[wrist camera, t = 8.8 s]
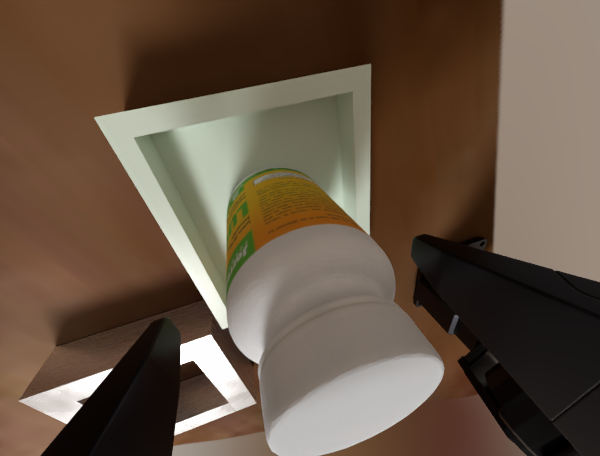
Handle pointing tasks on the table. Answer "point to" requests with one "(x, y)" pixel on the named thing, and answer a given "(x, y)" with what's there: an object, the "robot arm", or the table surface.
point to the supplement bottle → (319, 318)
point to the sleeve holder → (113, 346)
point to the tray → (243, 158)
